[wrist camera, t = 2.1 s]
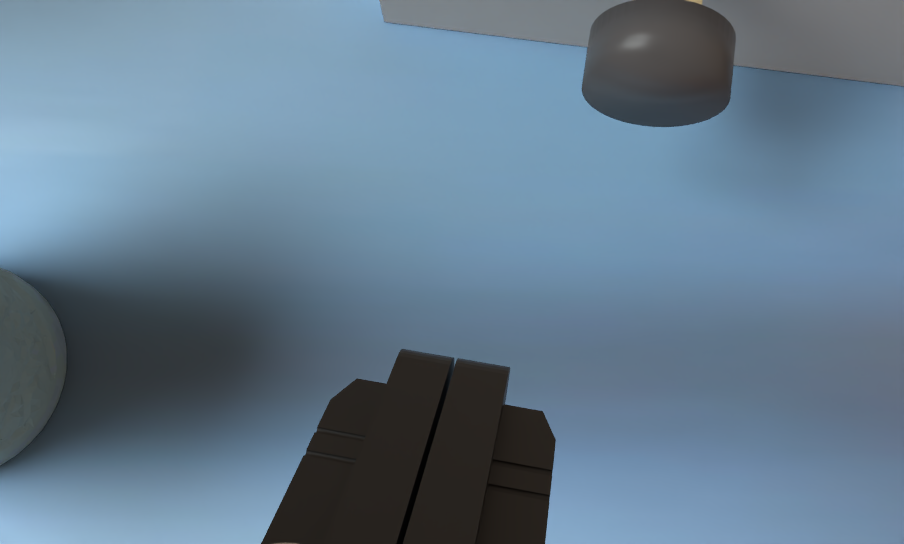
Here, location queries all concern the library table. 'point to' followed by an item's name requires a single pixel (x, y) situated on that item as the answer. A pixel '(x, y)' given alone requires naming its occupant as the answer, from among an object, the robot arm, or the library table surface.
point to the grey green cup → (27, 363)
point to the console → (742, 3)
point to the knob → (659, 63)
